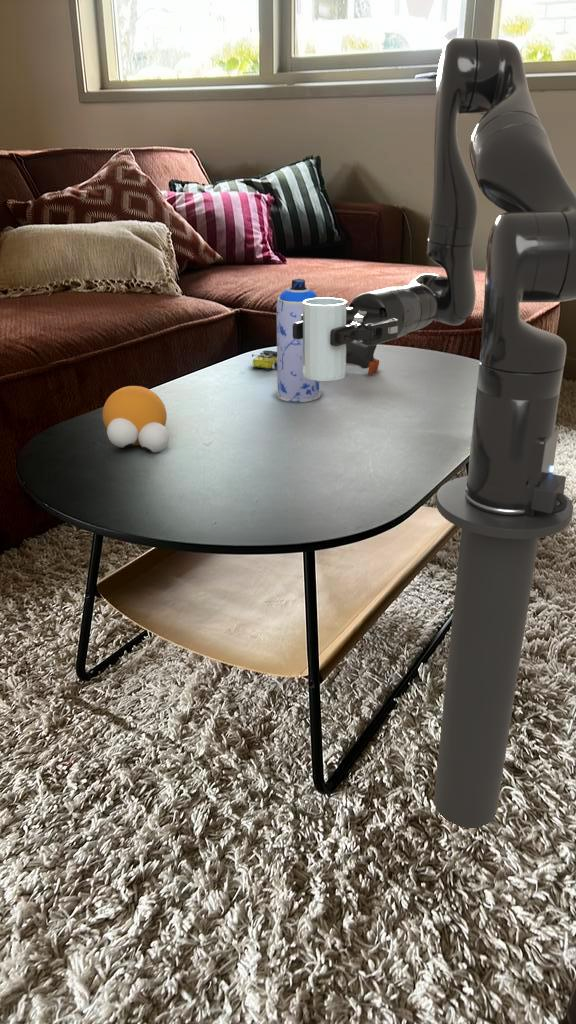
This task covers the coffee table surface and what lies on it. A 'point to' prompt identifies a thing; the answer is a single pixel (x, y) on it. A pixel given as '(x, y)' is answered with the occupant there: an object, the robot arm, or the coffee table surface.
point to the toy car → (265, 360)
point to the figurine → (361, 356)
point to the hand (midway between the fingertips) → (313, 334)
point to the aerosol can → (293, 346)
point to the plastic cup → (323, 339)
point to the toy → (136, 419)
